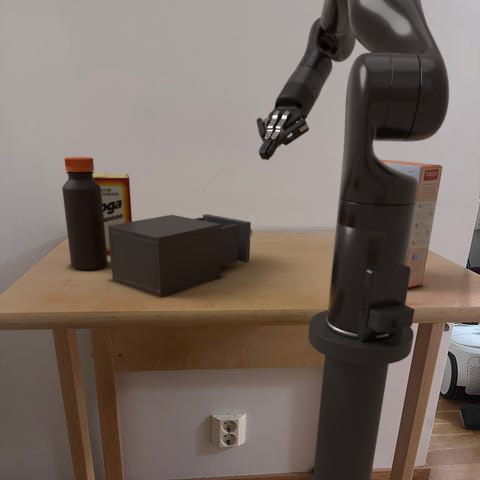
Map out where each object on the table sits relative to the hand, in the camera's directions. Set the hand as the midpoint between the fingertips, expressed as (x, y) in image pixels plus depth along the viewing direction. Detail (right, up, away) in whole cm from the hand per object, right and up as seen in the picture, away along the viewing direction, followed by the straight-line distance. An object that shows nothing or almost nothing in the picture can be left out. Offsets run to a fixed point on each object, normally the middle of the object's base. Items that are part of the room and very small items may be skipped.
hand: (263, 156), depth 100 cm
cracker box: (+22, -26, -9) cm, 35 cm away
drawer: (-10, -22, -4) cm, 25 cm away
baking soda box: (-33, -19, +6) cm, 38 cm away
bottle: (-34, -23, -6) cm, 42 cm away
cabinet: (-18, -26, -12) cm, 34 cm away
